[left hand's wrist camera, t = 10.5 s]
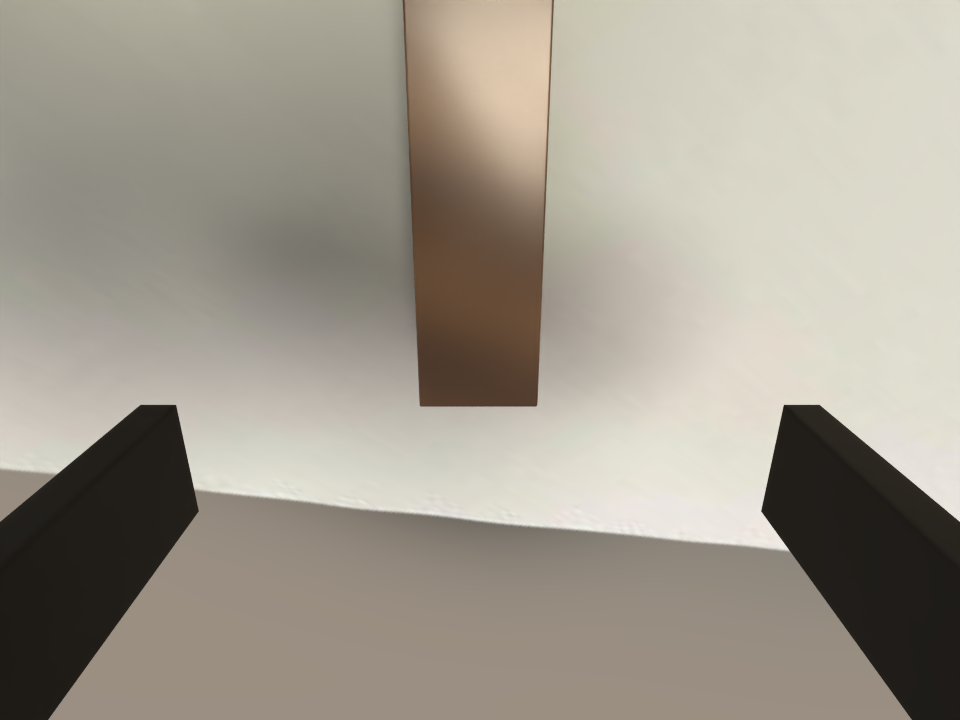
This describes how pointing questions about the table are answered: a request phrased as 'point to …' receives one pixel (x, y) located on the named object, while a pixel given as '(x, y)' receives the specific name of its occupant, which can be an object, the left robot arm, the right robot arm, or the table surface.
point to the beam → (478, 194)
